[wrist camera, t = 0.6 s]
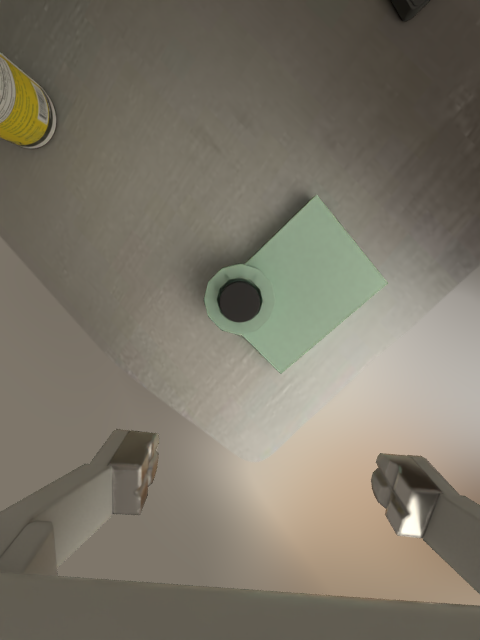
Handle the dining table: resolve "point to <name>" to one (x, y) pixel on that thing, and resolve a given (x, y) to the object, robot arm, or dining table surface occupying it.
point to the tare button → (239, 301)
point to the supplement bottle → (24, 108)
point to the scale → (298, 286)
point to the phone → (409, 7)
